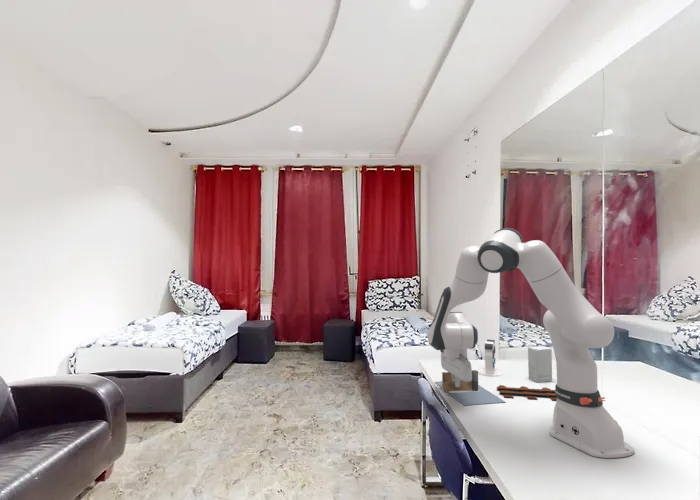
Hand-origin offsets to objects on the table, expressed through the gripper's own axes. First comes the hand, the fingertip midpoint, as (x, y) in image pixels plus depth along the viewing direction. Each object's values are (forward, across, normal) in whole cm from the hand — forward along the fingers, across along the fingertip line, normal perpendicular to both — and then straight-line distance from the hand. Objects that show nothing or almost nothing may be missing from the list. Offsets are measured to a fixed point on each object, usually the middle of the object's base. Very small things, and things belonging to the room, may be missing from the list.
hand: (456, 386), depth 157 cm
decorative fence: (+5, -4, -29) cm, 30 cm away
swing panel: (+3, +4, -2) cm, 5 cm away
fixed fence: (+3, +8, -10) cm, 13 cm away
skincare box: (+4, +10, -46) cm, 47 cm away
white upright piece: (+4, +25, -30) cm, 39 cm away
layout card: (+4, +2, -6) cm, 7 cm away
